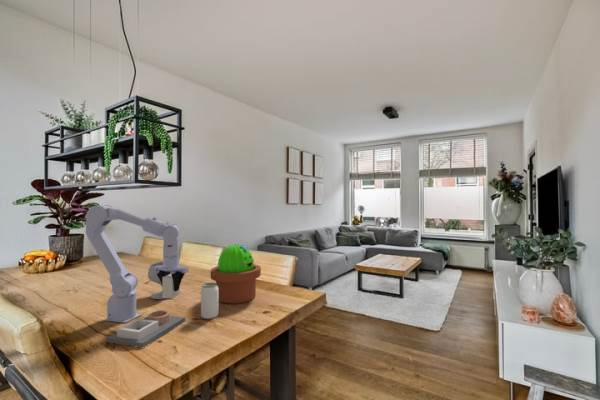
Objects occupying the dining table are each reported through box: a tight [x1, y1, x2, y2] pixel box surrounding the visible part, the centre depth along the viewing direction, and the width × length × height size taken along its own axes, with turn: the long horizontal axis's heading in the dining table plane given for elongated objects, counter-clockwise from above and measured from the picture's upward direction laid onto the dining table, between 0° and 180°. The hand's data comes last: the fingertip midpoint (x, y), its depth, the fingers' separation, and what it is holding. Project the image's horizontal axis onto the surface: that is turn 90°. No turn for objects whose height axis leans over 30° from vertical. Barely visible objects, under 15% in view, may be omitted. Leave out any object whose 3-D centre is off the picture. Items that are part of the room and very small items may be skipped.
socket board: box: [105, 309, 186, 348], centre depth 100 cm, size 14×20×4 cm
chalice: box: [147, 261, 175, 300], centre depth 137 cm, size 14×14×15 cm
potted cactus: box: [210, 243, 262, 305], centre depth 134 cm, size 22×22×25 cm
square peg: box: [161, 274, 181, 299], centre depth 115 cm, size 4×4×8 cm
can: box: [200, 282, 219, 320], centre depth 113 cm, size 6×6×12 cm
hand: (171, 290), depth 115 cm, fingers closed on square peg, 4 cm apart
